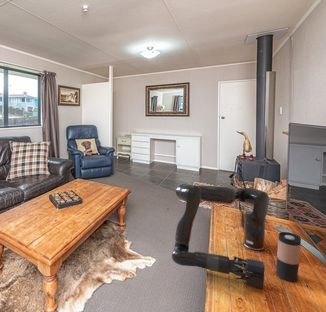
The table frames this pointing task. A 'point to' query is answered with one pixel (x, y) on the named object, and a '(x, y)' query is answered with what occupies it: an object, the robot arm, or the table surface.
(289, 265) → the travel mug
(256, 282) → the slate block
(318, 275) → the table surface
